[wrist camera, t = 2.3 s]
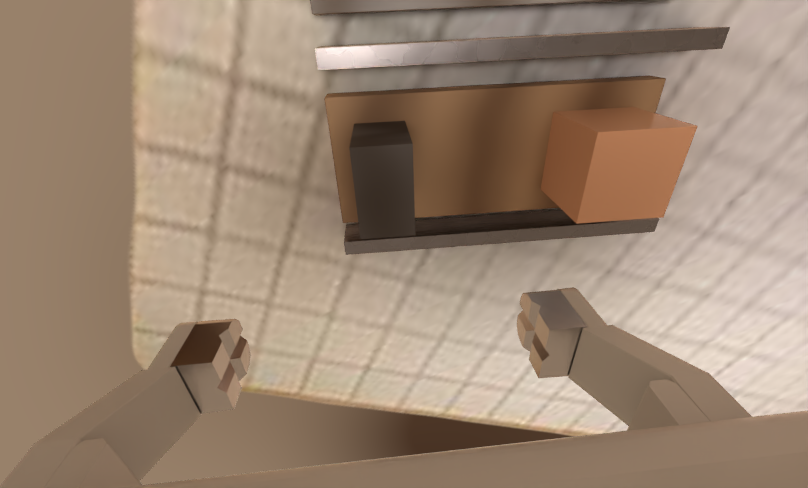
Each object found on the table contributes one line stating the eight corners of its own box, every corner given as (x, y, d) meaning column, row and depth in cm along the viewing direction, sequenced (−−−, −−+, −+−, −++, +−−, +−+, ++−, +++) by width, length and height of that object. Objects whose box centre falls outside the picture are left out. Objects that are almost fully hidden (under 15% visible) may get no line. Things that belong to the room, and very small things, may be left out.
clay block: (633, 106, 22) (697, 125, 17) (612, 184, 24) (663, 217, 20) (553, 111, 22) (598, 132, 17) (540, 189, 24) (576, 223, 20)
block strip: (649, 75, 22) (740, 91, 17) (615, 194, 26) (679, 238, 21) (327, 93, 21) (311, 116, 16) (344, 213, 26) (336, 264, 20)
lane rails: (796, -289, 15) (865, -341, 13) (632, 216, 28) (654, 231, 26) (274, -282, 14) (256, -336, 12) (348, 236, 27) (345, 254, 25)
